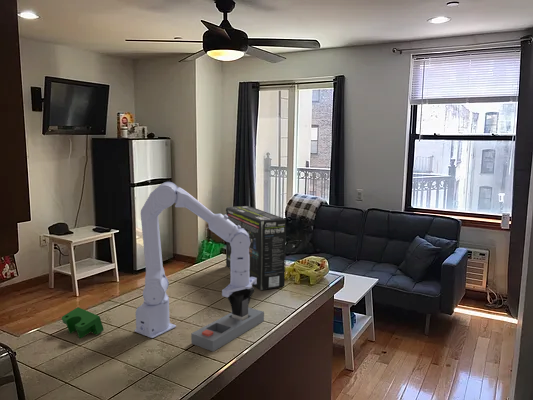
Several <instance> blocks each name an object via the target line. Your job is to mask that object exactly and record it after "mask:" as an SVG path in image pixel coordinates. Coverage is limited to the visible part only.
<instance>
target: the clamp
mask: <svg viewBox="0 0 533 400" xmlns="http://www.w3.org/2000/svg"><path fill="white" fill-rule="evenodd" d="M61 320H62V324H65V325H66V328H67V330H68V333H69V334H70V335H71V334H73V333H75V332H76V333H77V336H78V338H79V339H83V338H84V337H85V336H87V335H88V334H90V333H91V334H94V335H95V336H98V335H100V334H101V333H103V331H104V330H105V329H104V325H103V322H102V319H101V316H100V315H98V314H96V313H93V312H91V311H88V310H86V309H85V308H84V309H83V308H81V307H79V306H77V307H75V308H74V309H72V310H71V311H69V312H67V313H66V314H64V315H63V316H62V317H61Z"/></svg>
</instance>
